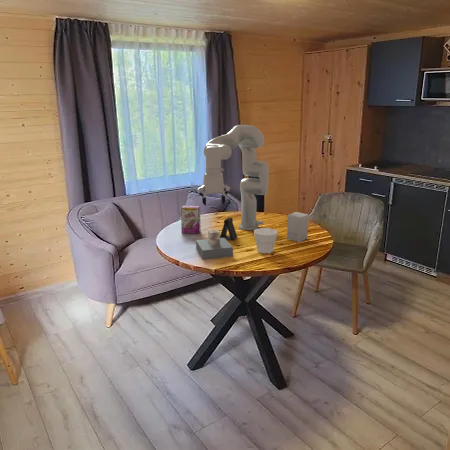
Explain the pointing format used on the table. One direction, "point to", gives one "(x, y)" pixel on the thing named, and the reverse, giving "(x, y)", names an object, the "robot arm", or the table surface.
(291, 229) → the supplement box
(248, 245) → the table surface
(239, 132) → the robot arm
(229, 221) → the phone stand
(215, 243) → the cream block
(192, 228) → the candy bar box
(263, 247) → the cup
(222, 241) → the slate block
